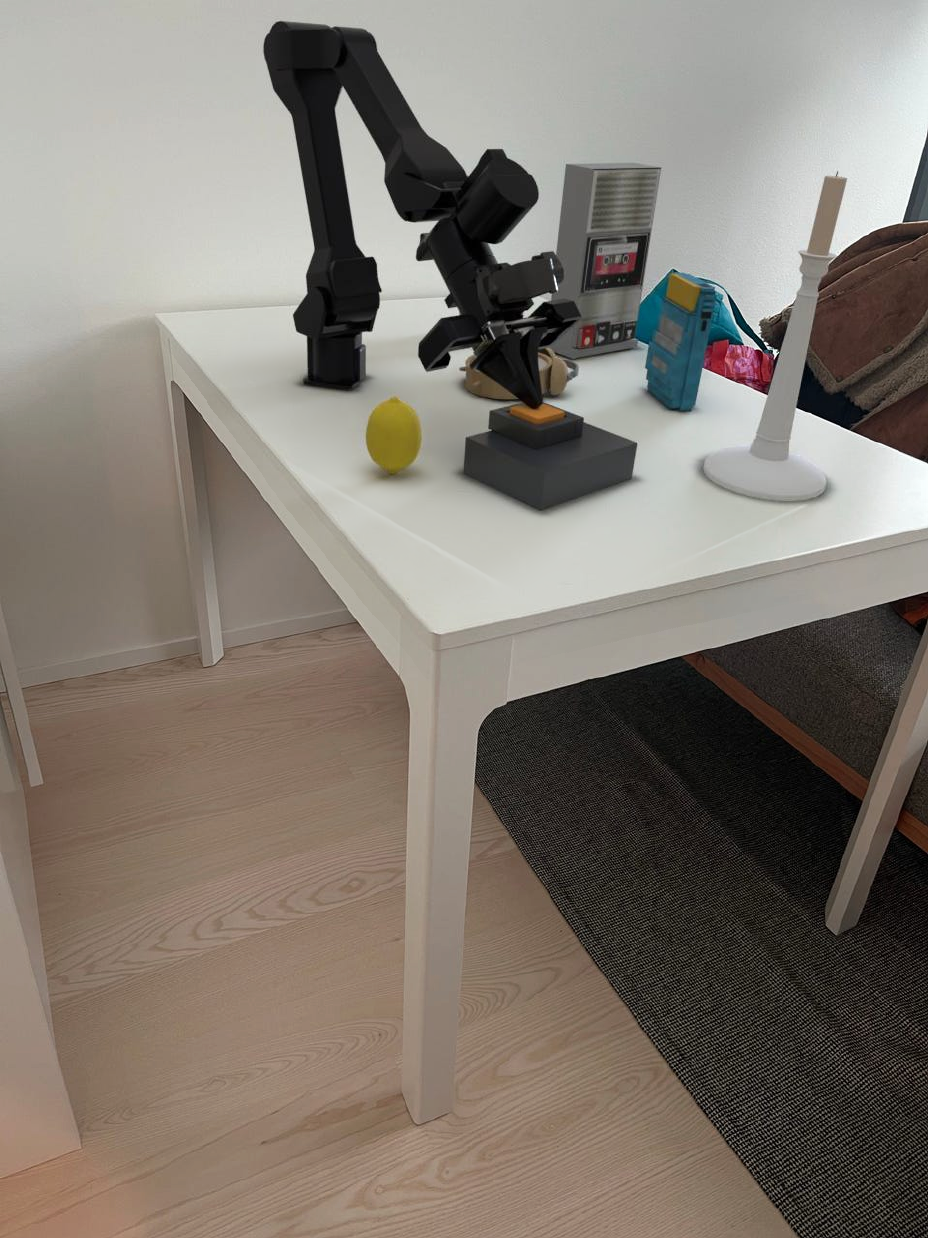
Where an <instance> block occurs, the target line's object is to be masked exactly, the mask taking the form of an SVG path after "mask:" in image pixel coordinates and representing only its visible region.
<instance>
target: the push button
mask: <svg viewBox="0 0 928 1238" xmlns="http://www.w3.org/2000/svg"><path fill="white" fill-rule="evenodd" d="M522 404H525V403H523V402H522V401H521V402H519V403H515V404H511V405H506V406H502V407H499V408H494V409H491V410H489V414H488V425H487V428H488V431H484V432H481V433H476V434H473V435H469V436H466V437H465V441H464V443H465V444H464V455H463V457H464V458H463V470H462V471H463V473H462V474H463V475H465V476H466V477H469V478H471V479H473V480H475V481H477V482H479V483H481V484H483V485H485V486H488V487H489V488H492V489H494V490H495V491H498V492H500V493H502V494H504V495H506V496H509V497H510V498H513V499H514V500H517V501H519V502H521V503H523V504H525V505H527V506H529V507H531V508H533V509H535V510H537V511H539V512H541V511H544V510H547V509H550V508H552V507H556V506H558V505H562V504H565V503H566V502H570V501H573V500H575V499H578V498H581V497H584V496H587V495H589V494H592V493H596V492H598V491H601V490H604V489H607V488H610V487H613V486H615V485H618V484H621V483H624V482H626V481H630V480H632V479H633V473H634V467H635V461H636V455H637V450H638V442H636V441H635V440H632V439H629V438H626V437H624V436H621V435H619V434H616V433H613V432H610V431H608V430H605V429H603V428H601V427H597V426H595V425H592V424H590V423H587V422H584V420H585V417H583V416H581V415H578V414H576V413H574V412H571V411H567V410H565V409H562V408H560V407H557V406H554V405H552V404H550V403H547V402H545V401H543V404H546V405H549V406H551V407H554V408H556V409H559V410H562V411H564V418H561V419H557V420H554V421H550V422H546V423H543V424H539V425H536V424H534V423H532V422H529V421H527V420H524V419H522V418H519V417H517V416H514V415H512V414H509V412H510V407H514V406H518V405H522Z"/></svg>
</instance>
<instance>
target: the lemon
mask: <svg viewBox="0 0 928 1238" xmlns="http://www.w3.org/2000/svg"><path fill="white" fill-rule="evenodd" d="M365 429H366V431H365V441H366V442H365V444H366V449H367V452H368V454H369V456H370V458H371V459H372V461H373V462H374V463H375V464H376V465H378V466H379V467H380V468H382V469H385V470H386V471H387V472H388V473H389V474H391V475H396V474H397V473H398V472H399V471H400V470H403V469H405V468H407V467H409V466H410V465H412V463H414V462H415V461H416V459H417V457H418V455H419V452H420V450H421V446H422V440H423V437H422V436H423V434H422V427H421V422H420V418H419V415H418V413H417V412H416V410H415V409H414V408H413V407H412V406H411V405H410V404H409V403H407V402H405V401H403V400H401V399H400V398H399V397H397V396H391V397H390V399H387V400H384V401H382V402H380V403H379V404H378V405H376V406H375V407H374V409H373V410H372V411H371V413H370V415H369V418H368V421H367V424H366V428H365Z"/></svg>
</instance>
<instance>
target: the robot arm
mask: <svg viewBox="0 0 928 1238" xmlns="http://www.w3.org/2000/svg"><path fill="white" fill-rule="evenodd" d="M262 47H263V49H262V51H263V58H264V61H265V63H266V67H267V71H268V75H269V78H270V82H271V86H272V89H273V91H274V93H275V95H276V96H277V97H278V99H279V100H280V101H281V103H282V104H283V105H284V107H285V108H286V109H287V111H288V112H289V114H290V116H291V120H292V124H293V131H294V135H295V136H294V137H295V142H296V147H297V154H298V158H299V159H298V160H299V165H300V172H301V177H302V183H303V188H304V189H303V191H304V196H305V201H306V206H307V207H306V208H307V213H308V218H309V224H310V230H311V237H312V241H313V249H314V250H313V254H312V256H311V259H310V262H309V264H308V267H307V270H306V273H305V280H306V282H305V284H306V294H305V296H304V298H303V299H302V301H301V302H300V303H299V305H298V306H297V308H296V309H295V310H294V312H293V313H292V318H293V322H294V323H293V324H294V327H295V332H296V333H298V334H300V335H303V336H305V337H306V364H307V375H306V376H305V377H304V378H303V379H302V384H304V385H310V386H317V387H325V388H333V389H341V390H348V391H350V390H353V389H354V388H355V387H356V386H357V385H359V383H361V382H362V381H363V380H364V379H365V378H366V377H367V346H366V344H365V343H363V333H371V332H373V329H374V326H375V322H376V318H377V315H378V311H379V309H380V304H381V296H380V293H382V292H383V289H382V287H381V285H380V280H379V275H378V263H377V261H376V258H375V257H374V256H366V255H365V254H364V253H363V251H362V250H361V248H360V247H359V246H358V244H357V241H356V236H355V235H356V233H355V229H354V228H355V227H354V222H353V217H352V216H353V215H352V210H351V203H350V197H349V191H348V185H347V177H346V172H345V171H346V170H345V164H344V159H343V153H342V146H341V139H340V131H339V127H338V121H337V120H338V119H337V113H336V108H337V105H338V102H339V99H340V96H341V93H342V91H343V89H344V92H345V93H346V94H347V97H348V98H349V100H350V102H351V103H352V105H353V107H354V109H355V110H356V112H357V114H358V116H359V117H360V119H361V121H362V122H363V124H364V126H365V128H366V129H367V131H368V133H369V135H370V136H371V139H372V140H373V142H374V143H375V145H376V147H377V149H378V150H379V153H380V154H381V156H382V159H383V161H384V176H383V182H384V185H385V187H386V189H387V192H388V195H389V198H390V200H391V202H392V205H393V207H394V209H395V211H396V213H397V214H398V217H400V218H401V220H403V221H404V222H409V223H427V222H436V223H435V224H434V226H433V227H432V228H431V229H430V231H429V232H422V233H420V235H419V243H418V246H417V248H416V251H415V259H416V261H417V262H425V261H433V262H434V264H435V265H436V268H437V270H438V272H439V274H440V276H441V278H442V280H443V282H444V284H445V286H446V288H447V290H448V292H449V293H448V295H447V296H446V297H445V298H444V300H443V301H444V303H445V305H446V307H447V309H454V308H457V310H458V313H459V312H460V314H461V315H459V314H458V315H452V316H446V317H445V316H444V317H440V319H439V320H438V321H437V322H436V323H435V324H434V325H433V326H432V328H431V329H429V331H428V332H427V333H426V335H425V336H424V337H423V338H421V340H420V341H419V343H418V347H417V349H418V350H417V356H418V359H419V361H420V363H421V365H422V367H423V369H424V371H425V372H426V373H429V372H434V371H439V370H444V369H447V368H448V366H449V365H450V362H451V359H452V356H451V354H450V352H455V351H460V350H465V349H472V351H473V352H472V355H474V356H475V358H476V359H475V360H474V361H473V362H472V363H471V364H470V365H469V367H470V368H471V370H478V371H480V372H481V373H483V374H484V375H486V376H487V377H489V378H490V379H492V380H493V381H495V382H496V383H498V384H499V385H501V386H502V387H504V388H505V389H506V390H508V391H509V392H510V393H512V394H513V395H514V396H515V397H517V398H518V399H517V400H519V401H521V403H522V402H523V403H525V404H526V405H527V406H529V407H530V408H531V409H535V408H539V407H540V406H541V405H542V404H543V402H544V398H543V394H542V389H541V381H540V373H539V364H538V349H543V348H548V347H550V346H551V345H553V344H554V343H556V342H557V341H558V340H559V339H560V338H561V337H562V336H563V335H564V334H565V333H567V332H568V331H569V330H570V329H571V328H572V327H573V326H574V325H575V324H576V323H577V322H579V321H580V320H581V319H582V316H581V314H580V312H579V310H578V308H577V306H576V304H575V302H574V301H572V300H569V299H558V300H552V301H551V300H547V301H543V302H542V303H541V304H539V306H537V308H536V309H535V310H533V311H532V313H531V314H530V315H528V317H527V316H526V317H523V315H522V313H523V312H524V313H525V312H526V311H527V312H528V311H529V310H530V309H531V308H532V307H533V306H534V305H535V302H534V300H533V299H535V298H537V297H541V296H543V295H546V294H551V295H552V293H555V292H557V291H558V289H557V284H559V283H561V282H562V281H563V279H564V268H563V267H562V264H561V262H560V261H559V259H558V258H557V256H556V252H554V250H550V251H542V252H541V253H539V254H535V255H533V256H531V259H530V260H524V261H520V262H516V263H514V264H510V263H508V262H501V263H500V262H498V260H497V258H496V257H495V254H494V252H493V250H492V248H491V247H490V245H498V244H500V243H503V241H504V240H506V239H507V237H509V235H510V234H511V233H512V232H513V230H514V229H516V228H517V226H518V225H519V224H520V222H521V221H522V220H523V219H524V218H525V217H526V216H527V214H529V212H530V211H531V210H533V207H534V206H535V205H536V204H537V203H538V201H539V197H540V192H539V187H538V184H537V180H536V179H535V177H534V175H532V174H530V173H529V172H528V171H527V170H526V169H525V168H524V167H523V166H522V165H521V164H519V163H518V162H516V161H515V160H513V159H511V158H509V157H508V156H507V154H506V152H505V149H503V148H487V149H485V151H484V153H483V154H482V155H481V156H480V158H479V161H478V162H477V165H476V166H475V167H474V168H473V170H472V171H471V172H470V174H469V175H467V173H466V170H465V169H464V167H463V166H462V164H460V162H459V161H458V160H457V159H456V157H455V156H454V155H453V154H452V153H451V151H450V150H449V149H448V147H446V146H444V145H443V144H441V143H440V142H438V141H437V140H435V139H434V138H433V137H431V136H430V135H428V133H427V132H426V131H425V130H424V128H423V127H422V126H421V124H420V122H419V121H418V119H417V117H416V116H415V115H416V114H414V112H413V110H412V108H411V107H410V105H409V103H408V102H407V100H406V97H405V96H404V95H403V92H401V89H400V87H399V85H398V84H397V83H396V81H395V79H394V77H393V75H392V74H391V72H390V71H389V69H388V67H387V65H386V63H385V62H384V60H383V58H382V57H381V55H380V53H379V51H378V45H377V41H376V38H375V36H374V35H373V33H372V32H369V31H368V30H367V29H365V28H362V27H351V26H350V27H349V26H337V25H335V26H332V27H331V26H329V25H327V24H323V23H310V22H298V21H289V20H288V21H285V20H279V21H275V22H274V23H273V25H272V26H271V28H270V29H269V32H268V33H267V34H266V36H265V37H264V39H263V46H262Z"/></svg>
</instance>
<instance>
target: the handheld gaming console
mask: <svg viewBox="0 0 928 1238" xmlns="http://www.w3.org/2000/svg"><path fill="white" fill-rule="evenodd" d="M716 292H717V291H716V287H715V286H713V285H711V284H710V283H707V282H706V281H704V280H702V279H700V278H698V277H696V276H694V275H692V274H690V273H686V272H682V271H681V272H677V271H676V272H675V271H674V272H672V273H669V276H668V283H667V288H666V295H665V297H663V298H662V302H661V308H660V314H659V315H658V318H657V324H656V329H654V330H653V332H652V339H651V341H649V342H648V347H647V353H646V359H645V365H644V369H646V375H645V380H646V381H647V385H646V388H647V392H648V393H650V394H651V396H653V397H654V398H655V399H656V400H657V401H659V402H660V403H661V404H662V405H664V406H665V407H666V408H667V409H668V410H671V411H673V410H675V411H676V410H678V411H679V412H680V413H681V412H684V413H685V412H692V410H693V408H694V406H696V404H697V400H698V399H697V398H698V393H699V388H700V383H701V378H702V372H703V368H704V362H705V357H706V354H707V353H706V352H707V348H708V347H707V346H708V342H709V337H710V333H711V326H712V321H713V315H714V310H715V304H716V300H717V293H716Z"/></svg>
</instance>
